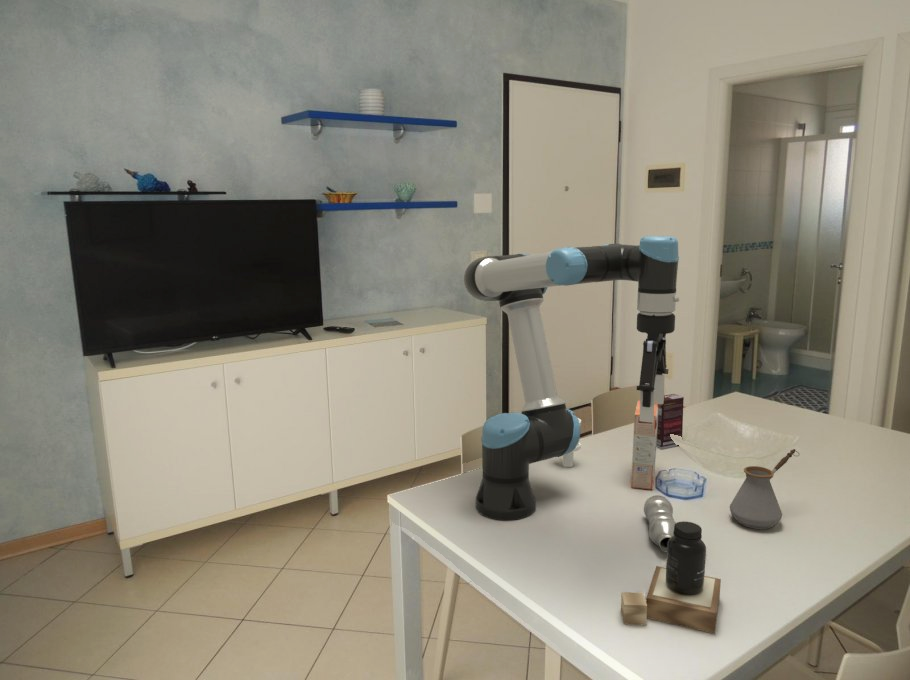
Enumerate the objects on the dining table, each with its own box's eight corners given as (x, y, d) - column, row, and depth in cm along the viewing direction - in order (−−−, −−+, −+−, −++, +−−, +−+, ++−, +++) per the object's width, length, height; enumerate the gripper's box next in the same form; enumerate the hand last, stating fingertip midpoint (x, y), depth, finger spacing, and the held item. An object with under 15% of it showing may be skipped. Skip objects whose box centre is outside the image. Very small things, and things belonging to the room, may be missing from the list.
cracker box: (653, 491, 177) (657, 415, 173) (630, 488, 179) (633, 413, 174) (656, 471, 190) (659, 400, 186) (634, 469, 192) (636, 399, 187)
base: (645, 617, 123) (646, 596, 122) (655, 584, 133) (656, 564, 133) (714, 633, 118) (716, 611, 117) (719, 597, 128) (720, 577, 128)
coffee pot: (763, 538, 151) (768, 476, 148) (718, 519, 160) (722, 460, 157) (813, 513, 162) (819, 455, 160) (769, 497, 172) (774, 442, 169)
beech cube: (623, 624, 121) (624, 604, 120) (620, 611, 125) (621, 592, 124) (646, 625, 121) (647, 605, 120) (642, 612, 124) (643, 592, 124)
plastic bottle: (673, 515, 162) (686, 556, 142) (644, 518, 163) (654, 560, 144) (669, 490, 161) (682, 528, 141) (640, 494, 162) (649, 532, 143)
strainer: (558, 459, 200) (559, 411, 197) (582, 462, 197) (583, 413, 194) (553, 468, 193) (554, 418, 190) (577, 471, 191) (578, 421, 188)
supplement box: (671, 440, 214) (674, 393, 211) (682, 445, 209) (684, 397, 206) (650, 445, 210) (652, 396, 207) (660, 449, 206) (662, 400, 203)
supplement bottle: (706, 598, 121) (710, 537, 119) (667, 594, 122) (670, 534, 120) (700, 578, 128) (704, 519, 125) (663, 574, 129) (666, 517, 127)
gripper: (666, 323, 124) (661, 432, 128) (682, 304, 146) (677, 398, 150) (625, 321, 127) (622, 427, 131) (647, 303, 149) (643, 394, 153)
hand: (651, 412), depth 140 cm, fingers open, 13 cm apart
